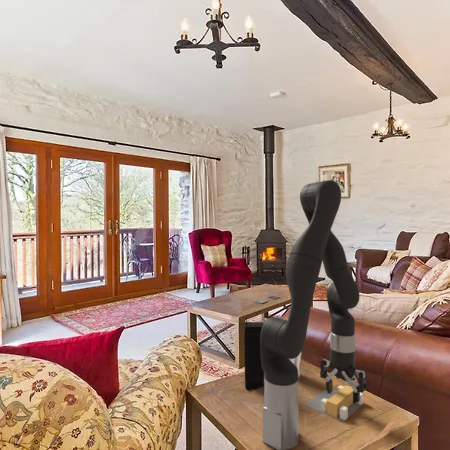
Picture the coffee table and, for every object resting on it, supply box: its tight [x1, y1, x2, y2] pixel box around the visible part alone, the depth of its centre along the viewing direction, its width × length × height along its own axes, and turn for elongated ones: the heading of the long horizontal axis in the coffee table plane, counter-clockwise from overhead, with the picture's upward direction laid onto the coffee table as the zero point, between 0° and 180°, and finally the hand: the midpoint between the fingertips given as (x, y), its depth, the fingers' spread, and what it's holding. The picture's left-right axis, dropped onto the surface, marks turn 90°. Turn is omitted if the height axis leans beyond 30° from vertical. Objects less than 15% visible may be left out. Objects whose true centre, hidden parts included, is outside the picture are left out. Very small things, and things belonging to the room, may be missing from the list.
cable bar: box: [327, 384, 354, 418], centre depth 110 cm, size 13×3×4 cm, turn 135°
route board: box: [304, 385, 365, 423], centre depth 112 cm, size 15×13×4 cm
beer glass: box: [290, 352, 302, 378], centre depth 132 cm, size 7×7×15 cm
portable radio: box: [243, 316, 264, 390], centre depth 126 cm, size 8×6×25 cm
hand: (342, 397), depth 110 cm, fingers open, 8 cm apart
